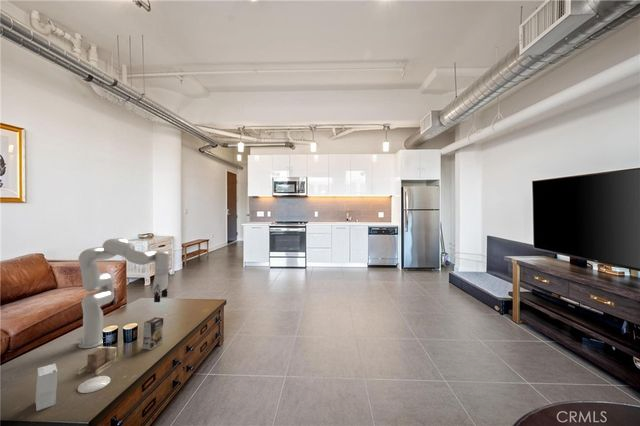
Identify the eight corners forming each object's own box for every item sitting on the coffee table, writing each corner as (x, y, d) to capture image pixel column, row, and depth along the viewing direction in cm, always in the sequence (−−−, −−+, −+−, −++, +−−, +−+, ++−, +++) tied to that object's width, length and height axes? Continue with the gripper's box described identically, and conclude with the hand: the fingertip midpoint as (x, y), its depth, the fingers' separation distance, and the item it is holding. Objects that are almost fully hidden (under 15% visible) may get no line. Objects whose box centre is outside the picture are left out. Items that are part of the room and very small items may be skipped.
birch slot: (77, 374, 135) (77, 358, 135) (97, 361, 148) (98, 346, 148) (97, 375, 135) (98, 359, 135) (116, 361, 148) (116, 347, 148)
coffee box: (151, 350, 161) (152, 323, 161) (142, 348, 162) (143, 322, 162) (163, 343, 170) (164, 317, 170) (154, 341, 171) (155, 316, 171)
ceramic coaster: (70, 392, 122) (70, 391, 122) (92, 376, 134) (92, 375, 134) (96, 393, 122) (96, 392, 122) (116, 377, 134) (116, 376, 134)
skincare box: (34, 402, 115) (36, 368, 115) (54, 395, 120) (55, 362, 120) (36, 412, 110) (37, 376, 110) (56, 404, 115) (58, 369, 115)
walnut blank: (87, 371, 138) (87, 354, 138) (95, 366, 143) (95, 349, 143) (96, 372, 138) (97, 354, 138) (104, 366, 143) (105, 349, 143)
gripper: (161, 268, 172) (160, 295, 172) (148, 274, 155) (147, 304, 154) (174, 268, 173) (173, 295, 173) (161, 274, 156) (160, 304, 156)
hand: (160, 299), depth 164 cm, fingers open, 9 cm apart
